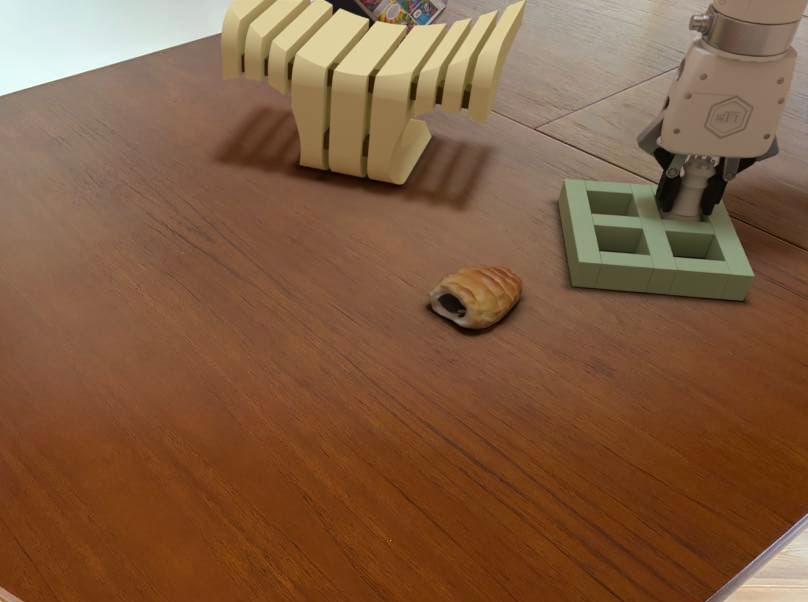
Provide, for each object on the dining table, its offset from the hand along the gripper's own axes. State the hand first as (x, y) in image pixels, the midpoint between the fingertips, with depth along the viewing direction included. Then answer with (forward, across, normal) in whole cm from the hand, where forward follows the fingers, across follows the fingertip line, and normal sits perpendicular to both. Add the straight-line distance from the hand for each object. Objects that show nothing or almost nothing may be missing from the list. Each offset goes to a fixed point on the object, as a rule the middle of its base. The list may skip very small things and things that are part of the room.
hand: (684, 205), depth 91 cm
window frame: (+3, -4, -4) cm, 6 cm away
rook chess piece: (+3, 0, 0) cm, 3 cm away
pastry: (+3, -22, -17) cm, 28 cm away
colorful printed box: (+3, -35, +40) cm, 53 cm away
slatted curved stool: (+3, -35, +12) cm, 37 cm away
